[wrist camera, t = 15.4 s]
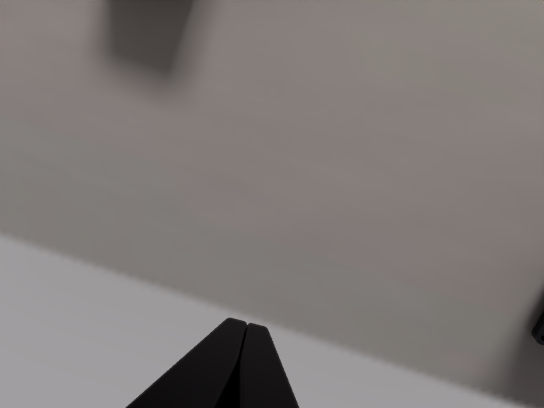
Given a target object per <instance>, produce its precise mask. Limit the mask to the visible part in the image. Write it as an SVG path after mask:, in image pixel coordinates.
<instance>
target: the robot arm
mask: <svg viewBox="0 0 544 408" xmlns="http://www.w3.org/2000/svg"><path fill="white" fill-rule="evenodd" d="M543 334H544V312H543V313H542V315H541V317H540V318H539V320H538V322H537V323H536V325H535V327H534V329H533V331H532V336H533V337H534V338H535V340H536V341H537V342H538V343H539V344H541V345H544V336H542V335H543ZM126 408H299V406H298V404H297V401H296V398H295V396H294V393H293V391H292V388H291V386H290V383H289V381H288V378H287V376H286V373H285V371H284V368H283V366H282V363H281V361H280V358H279V356H278V353H277V351H276V348H275V346H274V343H273V341H272V338H271V336H270V333H269V331H268V329H267V327H265V326H261V325H257V324H253V323H249V324H248V325H247V324H246V322H245V321H242V320H238V319H234V318H227V319H226V320H225V321H223V322H222V323H221V324H220V325H219V326H218V327H217V328H215V329H214V330H213V331H212V332H211V333H210V334H209V335H208V336H206V337H205V338H204V339H203V340H202V341H201V342H200V343H198V344H197V345H196V346H195V347H194V348H193V349H192V350H190V351H189V352H188V353H187V354H186V355H185V356H184V357H183V358H181V359H180V360H179V361H178V362H177V363H176V364H175V365H173V366H172V367H171V368H170V369H169V370H168V371H167V372H165V373H164V374H163V375H162V376H161V377H160V378H159V379H158V380H156V381H155V382H154V383H153V384H152V385H151V386H150V387H148V388H147V389H146V390H145V391H144V392H143V393H142V394H141V395H139V396H138V397H137V398H136V399H135V400H134V401H133V402H132V403H131V404H129V405H128V406H127V407H126Z"/></svg>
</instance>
